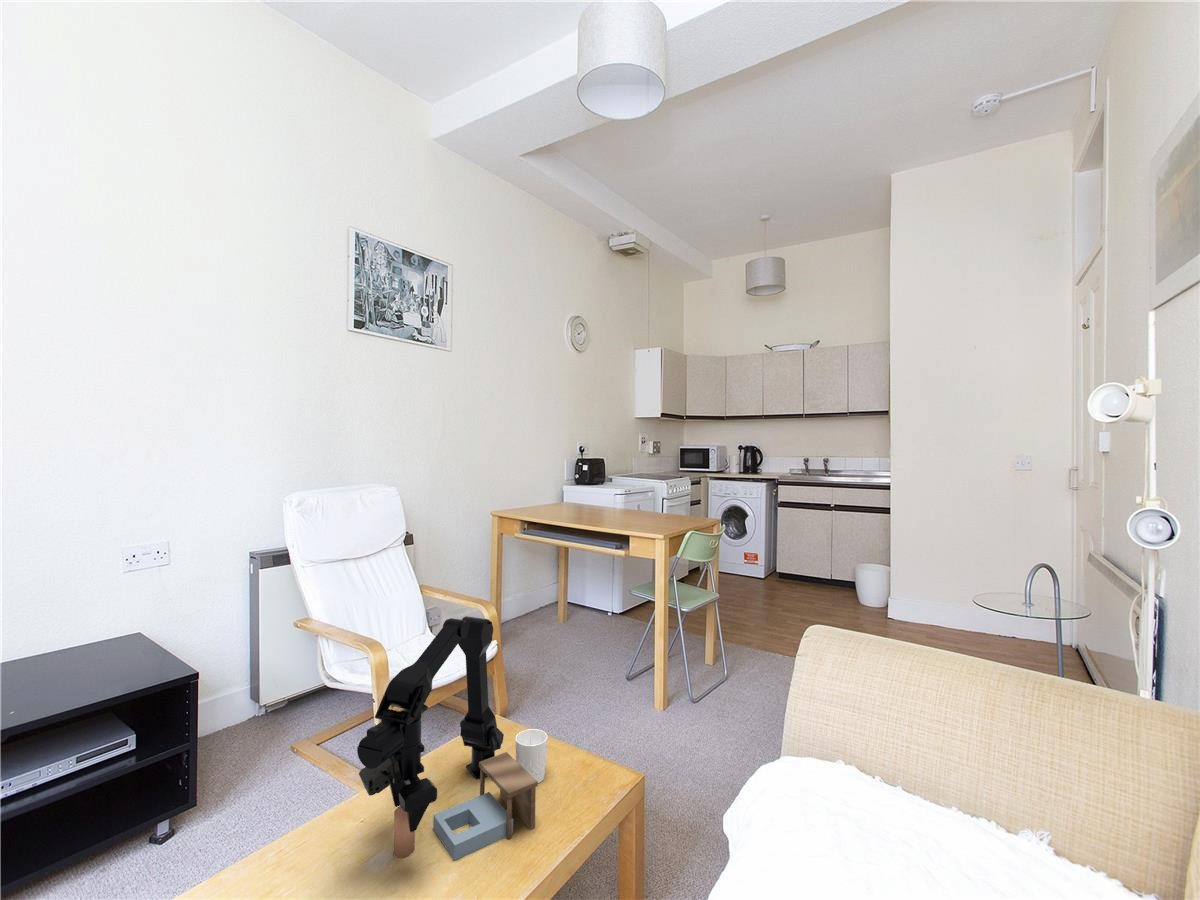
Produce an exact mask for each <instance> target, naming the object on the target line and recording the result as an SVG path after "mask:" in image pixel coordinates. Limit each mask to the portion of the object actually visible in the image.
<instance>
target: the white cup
mask: <svg viewBox="0 0 1200 900" xmlns="http://www.w3.org/2000/svg"><path fill="white" fill-rule="evenodd" d="M514 739H515V760H516V761H517V762H518V763H519V764H520V765H521V766H522V767H523V768H524V769H525V770H526V771H527V772H528V773H529V774H530V775H532V776H533V777H534V778H535V779H536V780H537V781H538V784H541V783H542V781H543V780H544V779H545V775H546V763H547V752H548V734H547V732H545V731H544V730H541V729H537V728H527V729H524V730H522V731H520V732H518V733H517V734H516V735H515V738H514Z"/></svg>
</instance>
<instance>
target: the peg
mask: <svg viewBox="0 0 1200 900" xmlns="http://www.w3.org/2000/svg"><path fill="white" fill-rule="evenodd" d="M415 834H416V830H415V831H413V832H410V829H409V824H408V817H407V812H405V811H403V809H402V808H401V806H398V807H396V809H395V810H394V812H393V849H392V850H393V852H392V853H393V856H394V857H395V858H397V859H404V858H407V857H410V856H412V854H413V853H414V851H415V844H416V843H415V841H416V840H415V839H416V835H415Z"/></svg>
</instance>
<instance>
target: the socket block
mask: <svg viewBox="0 0 1200 900" xmlns="http://www.w3.org/2000/svg"><path fill="white" fill-rule="evenodd" d="M432 819H433V821H432V822H433V824H432V825H433V831H434V832H435V834H436V835H437V837H438V838H439V840H440V841H441V843H442V844H443V846H444V847H445V849H446V850H447V852H448V853H449V855H450V856H451V858H452V859H453V861H457V860H460V859H462V858H463V857H466V856H468V855H469V854H471V853H474V852H476V851H478V850H480V849H482V848H484V847H487V846H488V845H491V844H492V843H495V842H497V841H499V840H501V839H503V838H505V837H506V832H507V809H505V807H503V806H502V804H501V803H500V802H499V801H498V800H497V799H496V798H495V796H494V795H493V794H492V793H491V792H490V791H488V792H486V793H485V792H484V794H483V795H480V794H479V795H478V796H475V797H473V798H470V799H468V800H466V801H464V802H462V803H459V804H456V805H454V806H452V807H448V808H446V809H444V810H441V811H439V812H436V813H434V814H433V817H432ZM467 824H469V825H470V827H469V828H467V829H464V830H462V831H460V832H458V833H456V834H455V833H454V832H453V830H456V829H458V828H460V827H463V826H465V825H467ZM513 833H514V818H513V817H512V823H511V835H512V834H513Z"/></svg>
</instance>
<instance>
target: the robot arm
mask: <svg viewBox="0 0 1200 900" xmlns="http://www.w3.org/2000/svg"><path fill="white" fill-rule="evenodd" d="M493 634H494V625H493V622H492V621H491V620H490V619H488V618H481V617H474V616H468V615H466V616H463V617H462V618H461V619H459V618H447V619H446V620H444V622H443V624H442V628H441V629H440V630H439V632H438V633H437V634H436V636H435V637H434V638H433V639H432V640H431V642H430V643H429V644H428V646H427V647H426V648H425V649H424V651H423V652H422V653H421V655H420V656H419V657H418V659H417V660H416V661H415V662H414V663H413V664H411V665H409V666H407V667H405V668H402V670H400V671H399V672H398V673H397V674H396V675H395V676H394V677H393V678H392V679H391V680H390V681H389V683H388V684H387V686H386V689H385V691H384V693H383V696H382V698H381V701H380V703H379V706H378V709H377V710H376V713H375V716H374V718H375V719H376V720H380V722H379V723H377V724H376V725H374V726H371V727H369V728H368V729H367V730H366V736H365V737H362V739H361V740H360V741H359V743H358V746H356V747H357V749H356V752H357V757H358V759H359V761H360V763H361V765H363V766H364V767H363V768H362V769H361V770H359V773H358V775H359V778H360V780H361V783H362V785H363V787H364V789H365V790H366V793H367V794H368V796H374V795H376V794H379V793H381V792H383V791H384V790H385V789H386V788H388V787H389V790H390V792H391V793H390V794H391V796H392V800H393V801H392V802H393V805H394V807H395V808H398V807H400V806H401V808H402V809H403V811H405V812H407V817H408V824H409V829H410V832H413V831H415V832H416V830H418V827H419V825H420V823H421V821H422V819H423V817H424V815H425V812H426V811H427V810H428V808H429V806H430V804H431V803H434V802H436V801H437V799H438V788H437V787H436V785H435V784H434V783H433V782H432V780H430V778H427V777H424V778H422V779H420V777H419V776H418V775H419V774H421V773H424V772H425V766H424V765H423V764H422V753H424V752H425V746H424V744H423V743H422V714H423V713H425V712H426V711H428V709H429V707H428V705H426V704H425V703H426V701H427V700H428V698H429V696H430V695H431V692H432V689H433V680H434V678H435V677H436V674H438V672H439V671H440V669H441V668H442V666H443V665H444V664H445V662H446V661H447V659H448V658H449V656H450V655H451V654H452V653H453V651H455V648H457V647H459V648H460V649H461V651H462V652H463V654H464V655H465V671H466V672H465V674H466V692H467V693H466V694H467V712H466V714H465V716H464V717H463V719H462V720H461V721H460V722H459V727H460V734H459V736H460V737H461V740H462V743H463V746H464V747H470V748H471V763H468V764H466V765H465V768H466V769H467V770H468V772H469V773H470V774H471V775H472V776H473V778H474V779H476V780H479V779H480V767H479V762H481V761H483V760H486V759H489V758H491V757H494V756H496V755H495V754H496V753H495V752H496V751H497V750H501V748H502V745H503V743H504V742H503V741H504V733H503V732H502V731H501V730H500V729H499V728H498V725H497V720H496V719H497V718H496V715H495V714H494V713H493V710H491V707H490V706H489V688H488V686H489V684H488V666H487V665H488V664H487V663H488V662H487V650H488V649H489V647H490V646H491V644H492V642H493ZM390 707H394V708H398V709H401V710H394V709H390ZM485 777H488V776H487V775H486V774H485Z"/></svg>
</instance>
